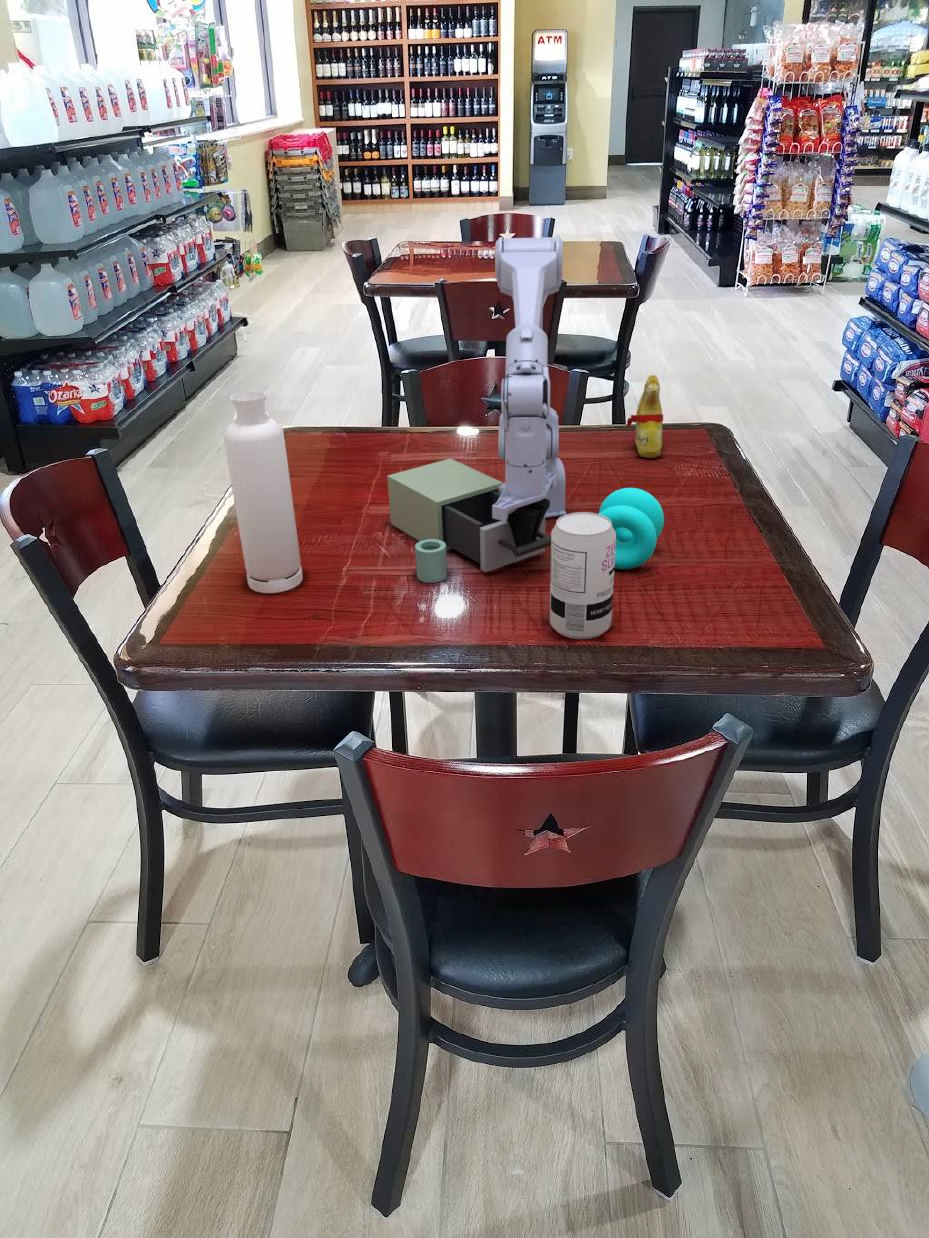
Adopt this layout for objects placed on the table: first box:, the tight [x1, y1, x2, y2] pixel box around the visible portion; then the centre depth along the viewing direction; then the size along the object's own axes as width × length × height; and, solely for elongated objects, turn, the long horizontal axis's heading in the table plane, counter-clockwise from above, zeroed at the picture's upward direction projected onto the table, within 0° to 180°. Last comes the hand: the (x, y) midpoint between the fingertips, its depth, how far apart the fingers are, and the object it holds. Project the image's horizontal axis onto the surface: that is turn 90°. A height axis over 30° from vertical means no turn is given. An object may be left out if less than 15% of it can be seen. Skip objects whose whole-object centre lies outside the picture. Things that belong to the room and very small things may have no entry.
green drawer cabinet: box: [386, 458, 504, 552], centre depth 152 cm, size 15×13×9 cm
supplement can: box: [549, 511, 616, 640], centre depth 121 cm, size 8×8×15 cm
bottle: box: [223, 390, 303, 594], centre depth 132 cm, size 8×8×28 cm
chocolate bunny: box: [626, 374, 664, 459], centre depth 179 cm, size 7×11×15 cm, turn 176°
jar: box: [414, 539, 448, 584], centre depth 138 cm, size 4×5×5 cm
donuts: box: [598, 487, 665, 570], centre depth 140 cm, size 10×10×10 cm
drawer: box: [442, 490, 551, 573], centre depth 141 cm, size 19×11×7 cm, turn 35°
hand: (525, 547), depth 137 cm, fingers closed, pressing on drawer
